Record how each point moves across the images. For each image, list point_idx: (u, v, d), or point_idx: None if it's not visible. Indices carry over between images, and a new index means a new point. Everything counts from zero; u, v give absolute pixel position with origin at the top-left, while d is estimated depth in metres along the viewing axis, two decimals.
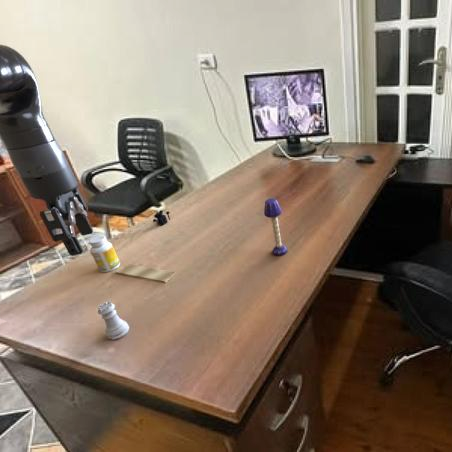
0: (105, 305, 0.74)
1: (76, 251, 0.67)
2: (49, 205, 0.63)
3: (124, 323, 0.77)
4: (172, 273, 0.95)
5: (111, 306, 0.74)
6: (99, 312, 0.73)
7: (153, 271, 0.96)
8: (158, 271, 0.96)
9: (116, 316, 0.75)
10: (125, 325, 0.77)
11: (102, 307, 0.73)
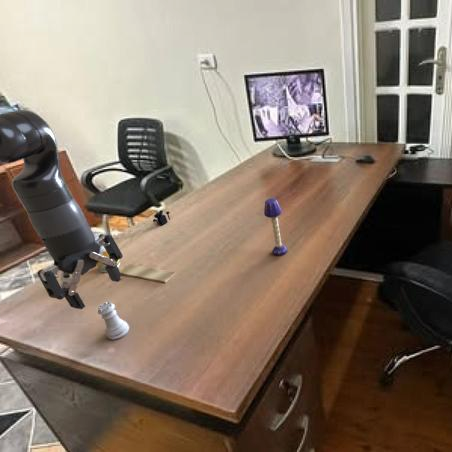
0: (105, 305, 0.74)
1: (75, 307, 0.67)
2: (55, 262, 0.64)
3: (124, 323, 0.77)
4: (172, 273, 0.95)
5: (111, 306, 0.74)
6: (99, 312, 0.73)
7: (153, 271, 0.96)
8: (158, 271, 0.96)
9: (116, 316, 0.75)
10: (125, 325, 0.77)
11: (102, 307, 0.73)
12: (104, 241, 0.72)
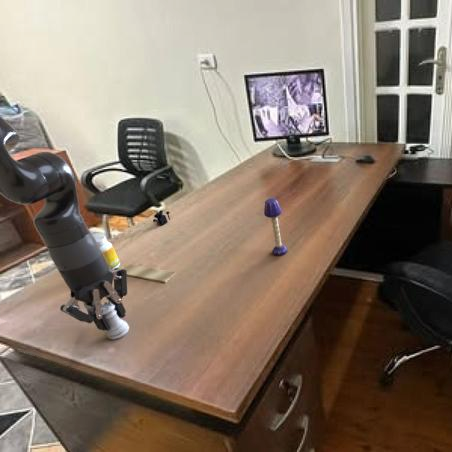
0: (105, 305, 0.74)
1: (101, 329, 0.73)
2: (71, 295, 0.67)
3: (124, 323, 0.77)
4: (172, 273, 0.95)
5: (111, 306, 0.74)
6: None
7: (153, 271, 0.96)
8: (158, 271, 0.96)
9: (116, 316, 0.75)
10: (125, 325, 0.77)
11: (102, 307, 0.74)
12: (117, 274, 0.75)
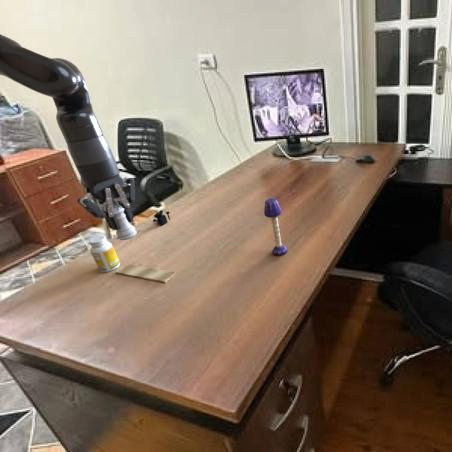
0: (116, 208, 0.84)
1: (112, 227, 0.83)
2: (87, 191, 0.77)
3: (132, 227, 0.87)
4: (172, 273, 0.95)
5: (121, 208, 0.84)
6: None
7: (153, 271, 0.96)
8: (158, 271, 0.96)
9: (125, 219, 0.85)
10: (133, 228, 0.87)
11: (113, 209, 0.83)
12: (126, 181, 0.85)
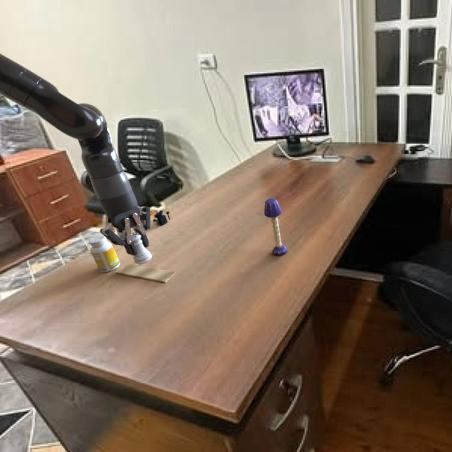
0: (133, 235, 0.91)
1: (130, 253, 0.90)
2: (108, 221, 0.84)
3: (148, 252, 0.94)
4: (172, 273, 0.95)
5: (138, 235, 0.91)
6: None
7: (153, 271, 0.96)
8: (158, 271, 0.96)
9: (142, 244, 0.92)
10: (149, 253, 0.93)
11: (131, 236, 0.90)
12: (143, 210, 0.92)
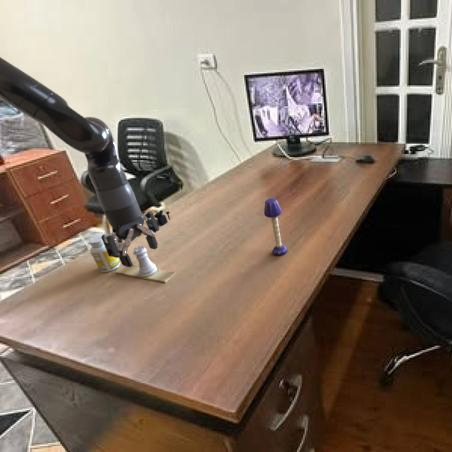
0: (139, 248, 0.93)
1: (126, 265, 0.89)
2: (113, 230, 0.85)
3: (153, 264, 0.96)
4: (172, 273, 0.95)
5: (144, 249, 0.93)
6: (134, 253, 0.91)
7: None
8: (158, 271, 0.96)
9: (147, 258, 0.94)
10: (154, 266, 0.95)
11: (137, 249, 0.92)
12: (146, 216, 0.93)
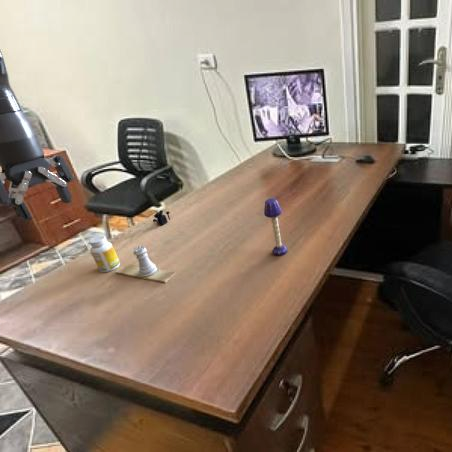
0: (139, 248, 0.93)
1: (22, 217, 0.71)
2: (3, 171, 0.68)
3: (153, 264, 0.96)
4: (172, 273, 0.95)
5: (144, 249, 0.93)
6: (134, 253, 0.91)
7: None
8: (158, 271, 0.96)
9: (147, 258, 0.94)
10: (154, 266, 0.95)
11: (137, 249, 0.92)
12: (55, 161, 0.76)
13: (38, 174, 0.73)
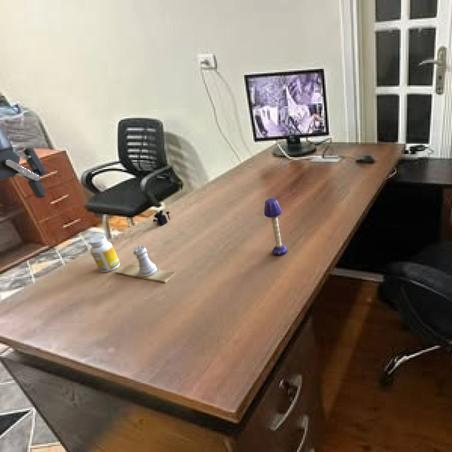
0: (139, 248, 0.93)
1: None
2: None
3: (153, 264, 0.96)
4: (172, 273, 0.95)
5: (144, 249, 0.93)
6: (134, 253, 0.91)
7: None
8: (158, 271, 0.96)
9: (147, 258, 0.94)
10: (154, 266, 0.95)
11: (137, 249, 0.92)
12: (25, 153, 0.72)
13: (6, 167, 0.69)
